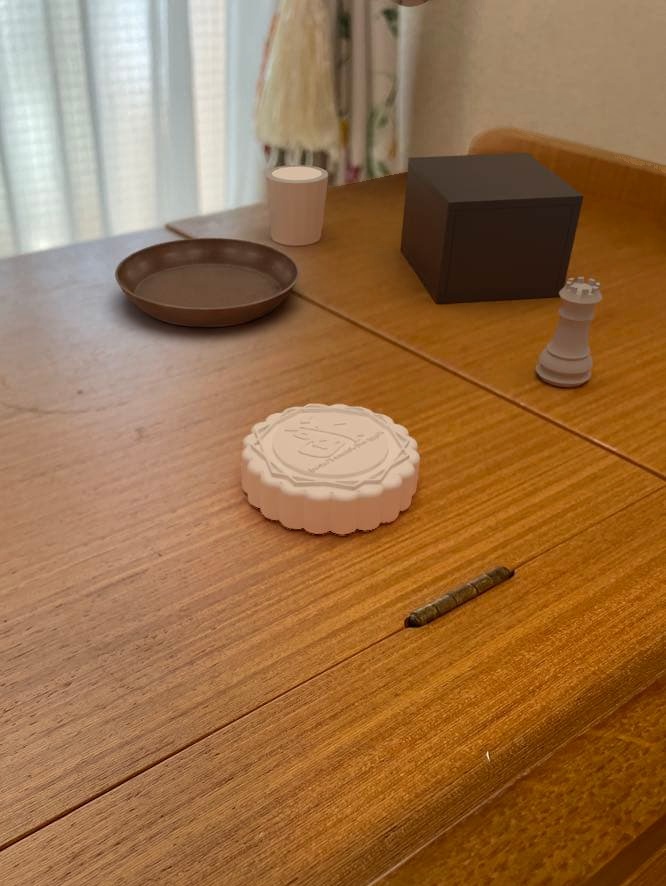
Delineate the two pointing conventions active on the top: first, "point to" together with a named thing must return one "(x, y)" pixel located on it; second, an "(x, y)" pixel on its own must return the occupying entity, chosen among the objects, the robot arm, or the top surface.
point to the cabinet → (488, 227)
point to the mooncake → (330, 468)
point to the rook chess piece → (571, 336)
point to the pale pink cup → (296, 203)
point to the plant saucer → (207, 280)
